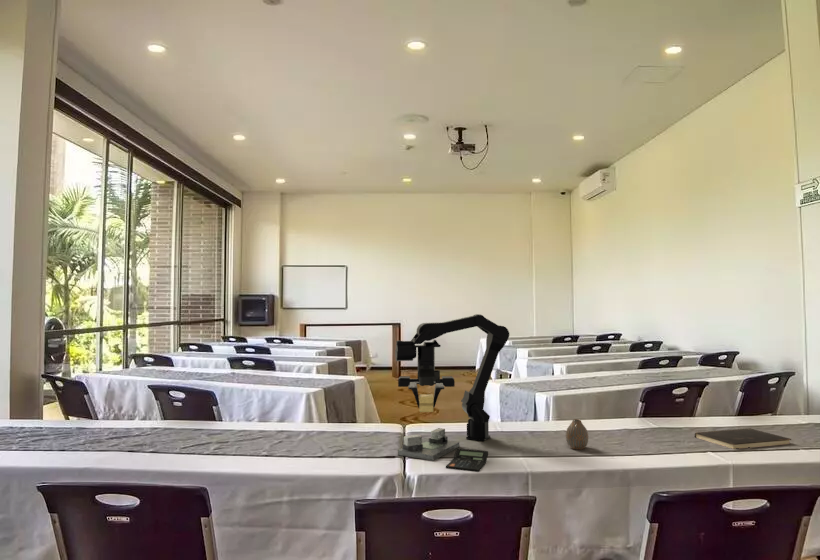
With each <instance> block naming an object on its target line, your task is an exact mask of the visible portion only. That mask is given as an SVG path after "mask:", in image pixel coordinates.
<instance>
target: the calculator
mask: <svg viewBox="0 0 820 560" xmlns="http://www.w3.org/2000/svg"><path fill="white" fill-rule="evenodd" d="M488 455H489V451H487V450H477V449H467V448H459V447H458V448H456V449H455V452H454V456H453V459H452V460H450V461H449V463H447V464H446V465H445V469H450V470H459V471H460V470H461V471H468V472H480V471H481V470H482V469H483V467H485V465H486V464H487V463H486V462H487V459H488ZM480 469H481V470H480Z"/></svg>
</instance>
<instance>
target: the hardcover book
mask: <svg viewBox="0 0 820 560" xmlns="http://www.w3.org/2000/svg"><path fill="white" fill-rule="evenodd" d="M694 438H697V439H700V440H703V441H706V442H709V443H712V444H715V445H719V446H723V447H725V446H726V447H725V448H728V449H731V448H732V449H733V450H737V449H736V448H739V449H749V448H748V447H750V448H758V447H759V448H760V447H771V446H781V445H782V446H783V445H784V446H785V445H790V441H792V438H790V437H785V436H782V435H777V434H774V433H770V432H766V431H762V430H758V429H754V428H752V427H751V428H740V429H739V428H737V429H735V428H734V429H727V430H726V429H725V430H724V429H723V430H714V431H712V430H711V431H700V432H699V431H698V432H694Z"/></svg>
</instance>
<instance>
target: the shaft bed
mask: <svg viewBox="0 0 820 560" xmlns="http://www.w3.org/2000/svg"><path fill="white" fill-rule="evenodd" d="M430 432H431V433H430V434H431V435H430V437H427V436H426V437H424V438H423V436H422V435H420V434H412V435H405V436H403V443H402V444H401V445H402V448H399V449H398V450H397V456H401V457H405V458H406V457H407V458H413V459H420V460H426V461H432V462H434V461H435V460H437V459H439V458H441V457H443V456H445V455H447V454H448V453H451V452H452V451H454V450H456V449H457V448H458V449H459V447H460V441H455V440H450V439H448V436H446V429H445V428H443V427H442V428H441V427H437V428H435V429H433V430H431V431H430Z"/></svg>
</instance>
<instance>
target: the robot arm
mask: <svg viewBox="0 0 820 560" xmlns="http://www.w3.org/2000/svg"><path fill="white" fill-rule="evenodd" d="M476 327H477V328H479V329H480V330H481V331H482V332H484V333H485V334H486V340H485V341H486V345H485V351H484V355H483V357H482V360H481V362H480V365H479V368H478V372H477V374H476V376H475V379H474V382H473V384H472V387H471V389H470V390H464V393H463V397H462V398H461V401H460V402H461V408H462V411H464V413H466V415H467V417H468V418H469V419H467V423H466V437H465V439H466V440H473V441H474V440H475V441H480V442H481V441H482V442H484V441H487V440H488V439H490V438H491V435H489V421H490V417H491V415H489V413H487V412H486V410H484V406H485V400H486V399H485V392H486V389H487V386H488V384H489V381H490V378H491V375H492V373H493V369H494V367H495V363H496V361H497V358H498V355H499V353H500V352H501V350H503V348H504V347H505V345H506V343H507V342H508V341H509V338H510V332H509V329H508V328H507V327H506V326H505V325H498V324H497V323H495V322H493V321H492V320H490V319H488V318H486V317H485V316H484V315H482V314H477V313H476V314H473V315H470V316H467V317H466V316H465V317H462V318H458V319H457V318H456V319H452V320H448V321H443V322H422V323H420V324H419V325H418V326H417V328H416V332H415V335H413V337H412V338H411V340H397V341H396V344H395V350H394V357H395V359H394V360H395V361H396V362H413V361H414V359H416V358H417V378H411V376H409V375H407V376H405V375H404V376H402V375H401V376H399V377H398V380H397V387H398V388H404V387H405V388H408V390H411V391H412V393H413V395H414V398H415V403H416V404H417V408H418V409H420V406H419V391H418V385H419V386H420V387H424V386H429V387H433V386H434V389H433V390H434V392H433V393H434V394H433V403H434V406H433V409H434V408H436V407H435V406H436V405H437V400H438V397H439V395H440V393H441V391H442V390H445V388H446V387H447V388H449V387H450V388H455V387H456V386H455V385H456V384H455V383H456V381H455V378H454V377H453V376H451V375H450V376H449V375H445V376H443V375H442V376H441V371H440V370H439V369H436V367H435V365H436V364H435V363H436V361H435V360H436V356H435V355H436V353H435V349H436V348H441V344H440V343H439V342H438V341H437V340H436V339H437V338H440V337H441V336H443V335H445V334H448V333H454V332H458V331H461V330H468V329H471V328H476ZM435 369H436V370H435Z"/></svg>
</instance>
